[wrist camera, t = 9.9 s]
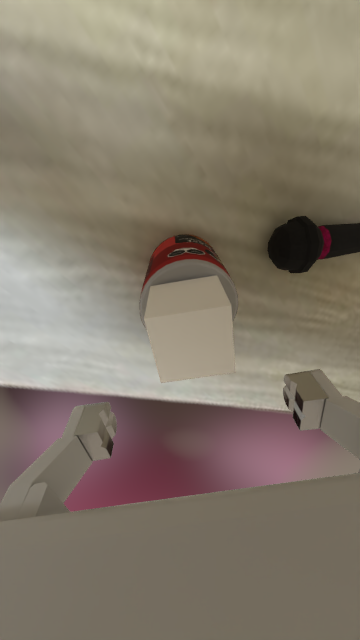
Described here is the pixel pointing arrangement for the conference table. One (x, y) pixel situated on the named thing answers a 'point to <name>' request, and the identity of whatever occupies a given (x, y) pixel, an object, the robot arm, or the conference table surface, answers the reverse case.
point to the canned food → (185, 267)
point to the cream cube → (190, 329)
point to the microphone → (310, 243)
